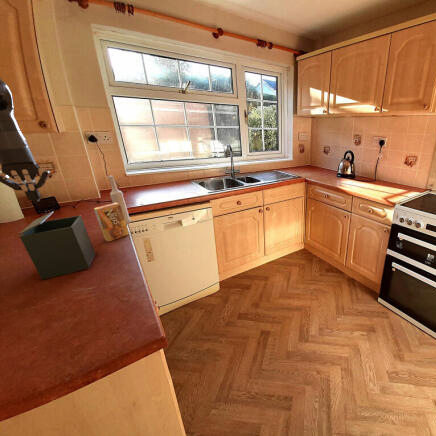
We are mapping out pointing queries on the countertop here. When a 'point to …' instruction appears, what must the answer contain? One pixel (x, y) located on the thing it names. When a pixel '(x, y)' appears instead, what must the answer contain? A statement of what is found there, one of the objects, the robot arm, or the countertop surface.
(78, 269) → the dark green open box
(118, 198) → the bottle
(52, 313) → the countertop surface
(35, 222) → the flap
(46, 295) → the countertop surface
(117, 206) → the candy box
